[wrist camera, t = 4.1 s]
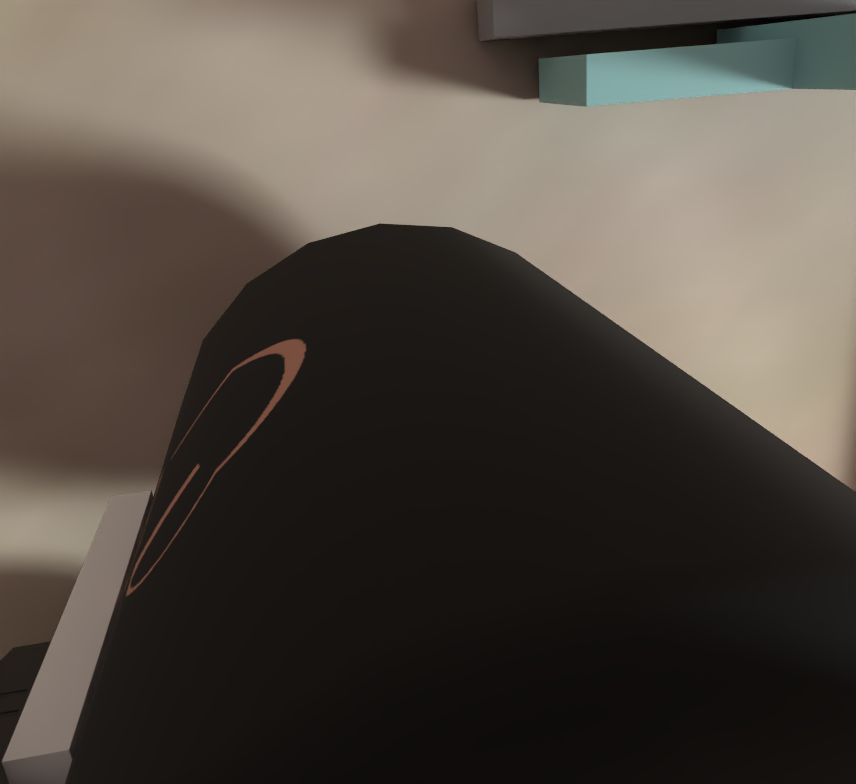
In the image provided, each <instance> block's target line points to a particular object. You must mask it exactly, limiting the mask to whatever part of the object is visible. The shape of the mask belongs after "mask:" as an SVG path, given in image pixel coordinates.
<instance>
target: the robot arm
mask: <svg viewBox="0 0 856 784" xmlns="http://www.w3.org/2000/svg"><path fill="white" fill-rule="evenodd" d="M152 500H153V495H152V490H150V491H143V492H136V493H129V494H122V495H115V496H111V498H110V500H109V503H108V505H107V507H106V510H105V512H104V515H103V517H102V520H101V522H100V524H99V527H98V529H97V532H96V534H95V537H94V539H93V541H92V544H91V546H90V549H89V551H88V554H87V556H86V558H85V561H84V563H83V566H82V568H81V571H80V573H79V575H78V578H77V580H76V583H75V585H74V588H73V590H72V592H71V595H70V597H69V600H68V602H67V605H66V607H65V609H64V612H63V614H62V617H61V619H60V622H59V624H58V626H57V629H56V631H55V634H54V636H53V639H52V641H51V642H46V643H40V644H33V645H27V646H21V647H15V648H13V649H12V650H11V651H10V652H9V653H8V654H7V655H6V656H5V657H4V658H3V659H2V660H1V661H0V784H65V782H66V778H67V775H68V772H69V769H70V765H71V762H72V759H73V756H74V753H75V749H76V746H77V743H78V740H79V736H80V733H81V730H82V727H83V723H84V720H85V717H86V714H87V710H88V707H89V704H90V701H91V697H92V694H93V691H94V688H95V684H96V681H97V678H98V675H99V671H100V668H101V665H102V662H103V658H104V655H105V652H106V649H107V646H108V642H109V639H110V636H111V633H112V629H113V626H114V623H115V620H116V616H117V613H118V610H119V607H120V603H121V600H122V597H123V594H124V590H125V587H126V584H127V581H128V577H129V574H130V571H131V568H132V564H133V561H134V558H135V555H136V552H137V548H138V545H139V542H140V539H141V535H142V532H143V529H144V526H145V522H146V519H147V516H148V513H149V509H150V506H151V503H152Z"/></svg>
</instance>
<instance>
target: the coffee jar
mask: <svg viewBox="0 0 856 784" xmlns="http://www.w3.org/2000/svg"><path fill="white" fill-rule="evenodd" d="M65 784H856V492H855V491H853V490H852V489H850V488H849V487H847V486H846V485H845V484H843V483H842V482H840V481H839V480H838V479H836V478H835V477H833V476H832V475H830V474H829V473H828V472H826V471H825V470H823V469H822V468H820V467H819V466H818V465H816V464H815V463H813V462H812V461H811V460H809V459H808V458H806V457H805V456H803V455H802V454H801V453H799V452H798V451H796V450H795V449H794V448H792V447H791V446H789V445H788V444H786V443H785V442H784V441H782V440H781V439H779V438H778V437H776V436H775V435H774V434H772V433H771V432H769V431H768V430H767V429H765V428H764V427H762V426H761V425H759V424H758V423H757V422H755V421H754V420H752V419H751V418H749V417H748V416H747V415H745V414H744V413H742V412H741V411H740V410H738V409H737V408H735V407H734V406H732V405H731V404H730V403H728V402H727V401H725V400H724V399H722V398H721V397H720V396H718V395H717V394H715V393H714V392H713V391H711V390H710V389H708V388H707V387H705V386H704V385H703V384H701V383H700V382H698V381H697V380H696V379H694V378H693V377H691V376H690V375H688V374H687V373H686V372H684V371H683V370H681V369H680V368H678V367H677V366H676V365H674V364H673V363H671V362H670V361H669V360H667V359H666V358H664V357H663V356H661V355H660V354H659V353H657V352H656V351H654V350H653V349H651V348H650V347H649V346H647V345H646V344H644V343H643V342H642V341H640V340H639V339H637V338H636V337H634V336H633V335H632V334H630V333H629V332H627V331H626V330H624V329H623V328H622V327H620V326H619V325H617V324H616V323H615V322H613V321H612V320H610V319H609V318H607V317H606V316H605V315H603V314H602V313H600V312H599V311H598V310H596V309H595V308H593V307H592V306H590V305H589V304H588V303H586V302H585V301H583V300H582V299H580V298H579V297H578V296H576V295H575V294H573V293H572V292H571V291H569V290H568V289H566V288H565V287H563V286H562V285H561V284H559V283H558V282H556V281H555V280H553V279H552V278H551V277H549V276H548V275H546V274H545V273H544V272H542V271H541V270H539V269H538V268H536V267H535V266H534V265H532V264H531V263H529V262H528V261H526V260H525V259H524V258H522V257H521V256H519V255H518V254H517V253H515V252H512V251H510V250H507V249H505V248H502V247H500V246H497V245H495V244H492V243H490V242H487V241H485V240H482V239H480V238H477V237H475V236H472V235H470V234H467V233H465V232H462V231H460V230H457V229H455V228H452V227H434V226H415V225H395V224H377V225H373V226H370V227H366V228H362V229H359V230H355V231H351V232H348V233H344V234H340V235H337V236H333V237H329V238H326V239H322V240H318V241H315V242H311V243H308V244H306V245H305V246H303V247H302V248H300V249H299V250H297V251H296V252H294V253H293V254H291V255H290V256H288V257H287V258H285V259H284V260H282V261H281V262H279V263H278V264H276V265H275V266H273V267H272V268H270V269H269V270H267V271H266V272H264V273H263V274H261V275H260V276H258V277H257V278H255V279H254V280H252V281H250V282H249V283H247V284H246V286H245V287H244V288H243V290H242V291H241V292H240V293H239V295H238V296H237V297H236V299H235V300H234V301H233V302H232V304H231V305H230V306H229V308H228V309H227V310H226V311H225V313H224V314H223V315H222V317H221V318H220V319H219V320H218V322H217V323H216V324H215V326H214V327H213V328H212V329H211V331H210V332H209V333H208V335H207V336H206V337H205V338H204V340H203V342H202V345H201V348H200V351H199V354H198V357H197V360H196V363H195V366H194V369H193V372H192V375H191V378H190V381H189V384H188V387H187V390H186V393H185V396H184V400H183V403H182V406H181V409H180V412H179V415H178V419H177V422H176V425H175V428H174V432H173V435H172V438H171V441H170V445H169V448H168V451H167V454H166V457H165V461H164V464H163V467H162V470H161V474H160V477H159V480H158V483H157V487H156V490H155V493H154V496H153V500H152V503H151V506H150V509H149V513H148V516H147V519H146V522H145V526H144V529H143V532H142V535H141V539H140V542H139V545H138V548H137V552H136V555H135V558H134V561H133V564H132V568H131V571H130V574H129V577H128V581H127V584H126V587H125V590H124V594H123V597H122V600H121V603H120V607H119V610H118V613H117V616H116V620H115V623H114V626H113V629H112V633H111V636H110V639H109V642H108V646H107V649H106V652H105V655H104V658H103V662H102V665H101V668H100V671H99V675H98V678H97V681H96V684H95V688H94V691H93V694H92V697H91V701H90V704H89V707H88V710H87V714H86V717H85V720H84V723H83V727H82V730H81V733H80V736H79V740H78V743H77V746H76V749H75V753H74V756H73V759H72V762H71V765H70V769H69V772H68V775H67V778H66V782H65Z"/></svg>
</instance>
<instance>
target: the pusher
mask: <svg viewBox="0 0 856 784" xmlns="http://www.w3.org/2000/svg"><path fill="white" fill-rule="evenodd" d="M782 89H845V90H856V13H855V14H846V15H838V16H830V17H821V18H813V19H805V20H796V21H788V22H780V23H771V24H763V25H755V26H746V27H738V28H730V29H721V30H717V41H716V44H711V45H699V46H686V47H673V48H661V49H648V50H635V51H623V52H610V53H597V54H585V55H574V56H563V57H552V58H541V59H539V102H543V103H554V104H565V105H576V106H598V105H610V104H621V103H633V102H644V101H656V100H667V99H679V98H690V97H702V96H713V95H725V94H736V93H748V92H759V91H771V90H782Z"/></svg>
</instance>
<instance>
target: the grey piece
mask: <svg viewBox="0 0 856 784" xmlns="http://www.w3.org/2000/svg"><path fill="white" fill-rule="evenodd" d="M855 12H856V0H477V18H478V40H479V41H487V40H500V39H513V38H526V37H539V36H552V35H566V34H579V33H592V32H605V31H618V30H631V29H645V28H658V27H671V26H684V25H697V24H710V23H724V22H737V21H750V20H763V19H776V18H789V17H802V16H816V15H829V14H842V13H855Z"/></svg>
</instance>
